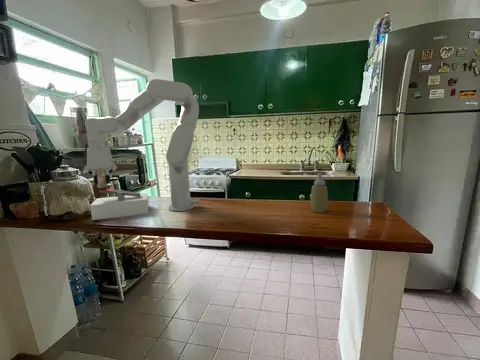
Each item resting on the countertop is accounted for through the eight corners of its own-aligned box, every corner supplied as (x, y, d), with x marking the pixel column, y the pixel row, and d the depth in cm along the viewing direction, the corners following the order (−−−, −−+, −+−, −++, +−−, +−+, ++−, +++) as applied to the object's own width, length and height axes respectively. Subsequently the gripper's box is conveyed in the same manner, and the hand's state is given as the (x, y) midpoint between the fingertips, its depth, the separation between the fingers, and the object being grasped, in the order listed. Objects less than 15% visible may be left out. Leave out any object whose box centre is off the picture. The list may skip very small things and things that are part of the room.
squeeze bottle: (308, 213, 111) (309, 174, 108) (310, 208, 119) (311, 171, 116) (327, 214, 108) (328, 174, 105) (328, 209, 116) (329, 172, 113)
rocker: (140, 194, 125) (140, 192, 125) (139, 196, 120) (140, 194, 120) (100, 190, 119) (101, 187, 118) (98, 192, 114) (99, 189, 114)
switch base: (148, 206, 132) (146, 186, 130) (148, 213, 119) (146, 191, 117) (98, 211, 124) (95, 191, 122) (92, 220, 111) (89, 197, 109)
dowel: (108, 187, 119) (105, 163, 117) (107, 189, 115) (104, 164, 113) (99, 188, 118) (96, 163, 116) (97, 190, 114) (94, 164, 112)
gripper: (118, 144, 119) (122, 181, 122) (79, 145, 114) (84, 183, 117) (116, 144, 112) (121, 183, 115) (74, 145, 107) (80, 186, 110)
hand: (102, 183), depth 116 cm, fingers closed on dowel, 4 cm apart
